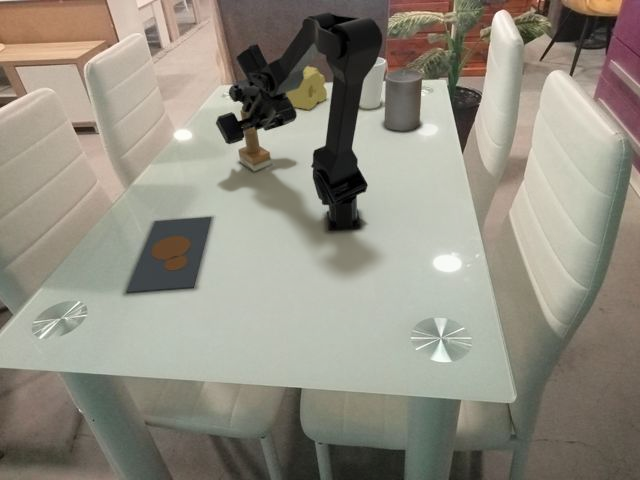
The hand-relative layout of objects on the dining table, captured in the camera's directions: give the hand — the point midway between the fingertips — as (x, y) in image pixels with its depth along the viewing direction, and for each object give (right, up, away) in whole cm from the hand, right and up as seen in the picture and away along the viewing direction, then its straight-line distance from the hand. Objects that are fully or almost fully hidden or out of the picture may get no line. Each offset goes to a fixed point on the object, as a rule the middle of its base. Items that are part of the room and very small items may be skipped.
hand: (248, 134), depth 117 cm
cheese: (+13, +17, +34) cm, 41 cm away
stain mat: (-11, -28, -24) cm, 39 cm away
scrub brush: (+1, -6, +4) cm, 7 cm away
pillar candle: (+40, +6, +17) cm, 44 cm away
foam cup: (+33, +15, +29) cm, 47 cm away
